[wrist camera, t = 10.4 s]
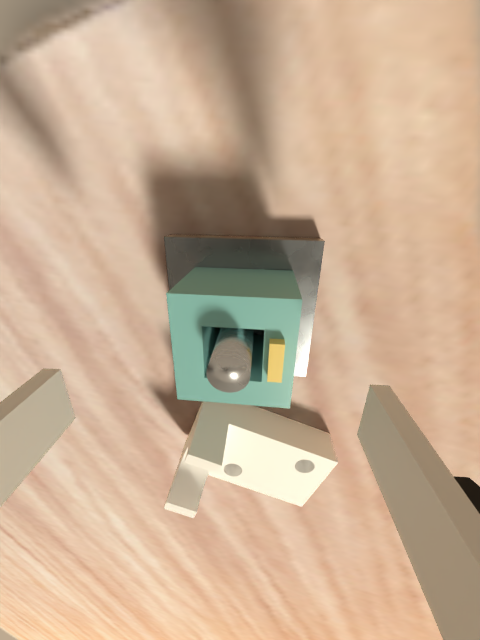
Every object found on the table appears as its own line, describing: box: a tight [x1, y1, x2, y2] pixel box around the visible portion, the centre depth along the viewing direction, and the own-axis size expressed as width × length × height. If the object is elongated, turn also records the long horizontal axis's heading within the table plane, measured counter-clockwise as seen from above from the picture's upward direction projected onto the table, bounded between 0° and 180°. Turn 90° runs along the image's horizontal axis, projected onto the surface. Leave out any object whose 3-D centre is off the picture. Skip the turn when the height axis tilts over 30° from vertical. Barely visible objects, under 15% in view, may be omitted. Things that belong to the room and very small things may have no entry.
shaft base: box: [164, 234, 325, 393], centre depth 18 cm, size 11×11×10 cm
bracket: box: [164, 401, 338, 518], centre depth 25 cm, size 13×7×8 cm, turn 69°
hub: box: [166, 267, 302, 408], centre depth 18 cm, size 7×7×7 cm
